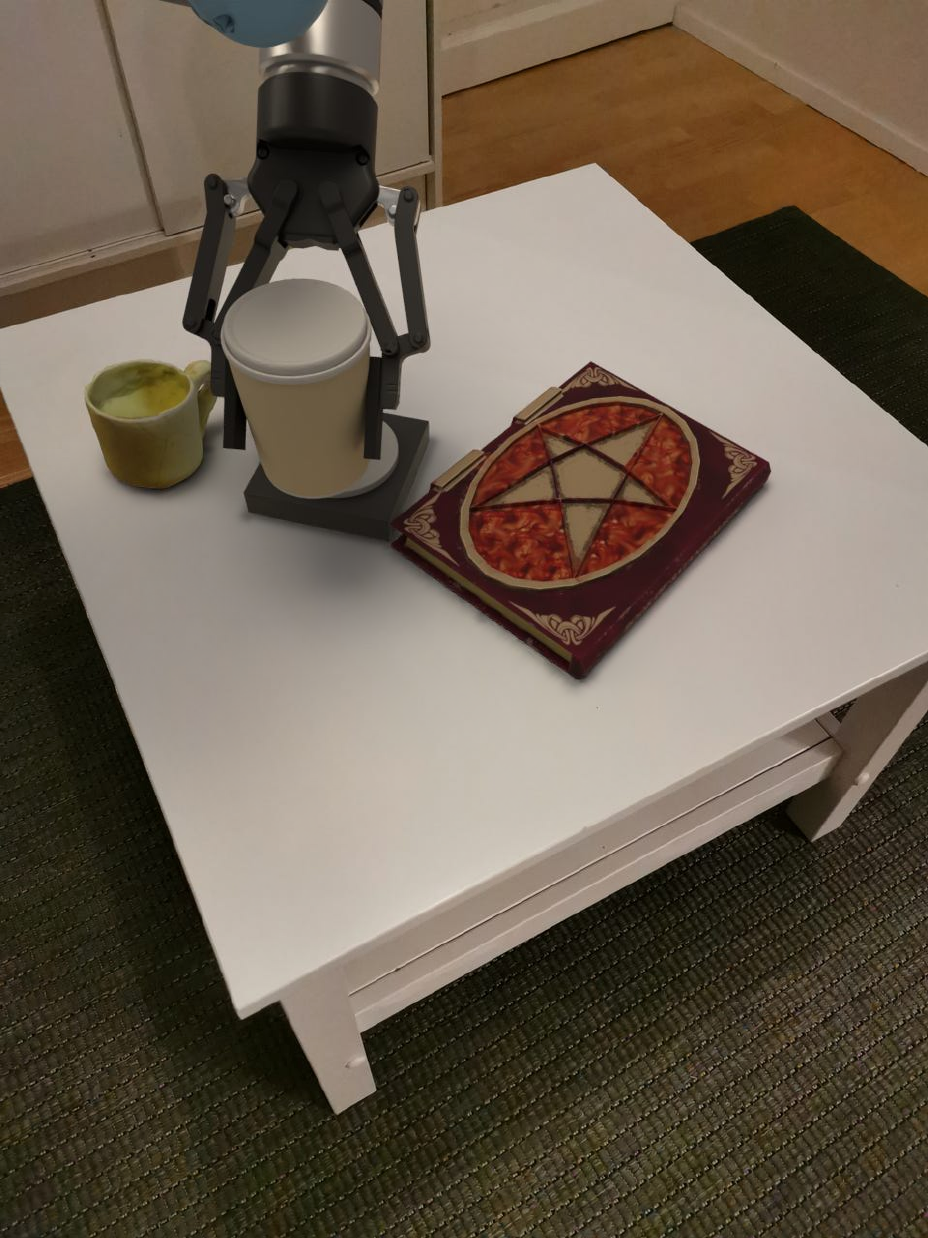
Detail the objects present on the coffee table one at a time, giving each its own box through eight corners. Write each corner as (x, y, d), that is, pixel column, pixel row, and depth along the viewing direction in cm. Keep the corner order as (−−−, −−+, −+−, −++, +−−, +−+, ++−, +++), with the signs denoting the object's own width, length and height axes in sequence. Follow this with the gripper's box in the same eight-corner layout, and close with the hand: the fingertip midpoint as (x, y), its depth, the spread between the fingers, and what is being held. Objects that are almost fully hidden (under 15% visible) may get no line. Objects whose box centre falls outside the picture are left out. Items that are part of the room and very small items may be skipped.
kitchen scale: (248, 512, 81) (241, 485, 78) (299, 415, 88) (295, 388, 86) (389, 541, 79) (387, 515, 76) (429, 440, 87) (429, 414, 84)
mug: (120, 511, 78) (96, 397, 73) (88, 471, 85) (63, 364, 80) (255, 479, 84) (242, 371, 78) (214, 444, 91) (199, 343, 86)
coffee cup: (406, 446, 67) (399, 305, 58) (330, 527, 63) (309, 388, 53) (304, 400, 70) (281, 258, 60) (224, 475, 65) (185, 334, 56)
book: (580, 686, 71) (589, 651, 67) (383, 544, 79) (382, 505, 75) (763, 489, 84) (780, 450, 80) (579, 383, 92) (587, 343, 88)
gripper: (489, 123, 61) (464, 466, 65) (173, 104, 62) (166, 444, 65) (486, 75, 54) (459, 465, 57) (128, 54, 54) (123, 440, 58)
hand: (303, 453), depth 61 cm, fingers closed on coffee cup, 9 cm apart
